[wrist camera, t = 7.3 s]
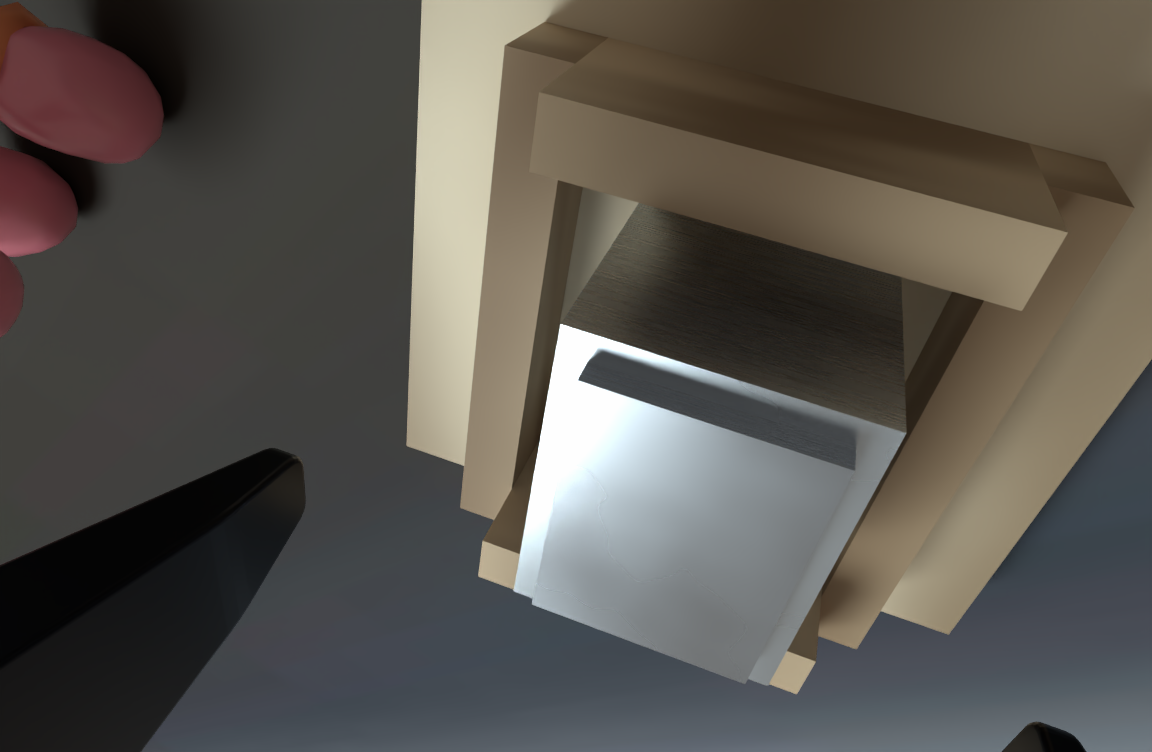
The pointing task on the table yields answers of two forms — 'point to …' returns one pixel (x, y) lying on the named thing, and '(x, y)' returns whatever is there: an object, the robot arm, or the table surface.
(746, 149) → the chassis board
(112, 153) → the anatomy model
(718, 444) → the brushed metal cube
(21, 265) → the table surface
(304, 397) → the table surface
